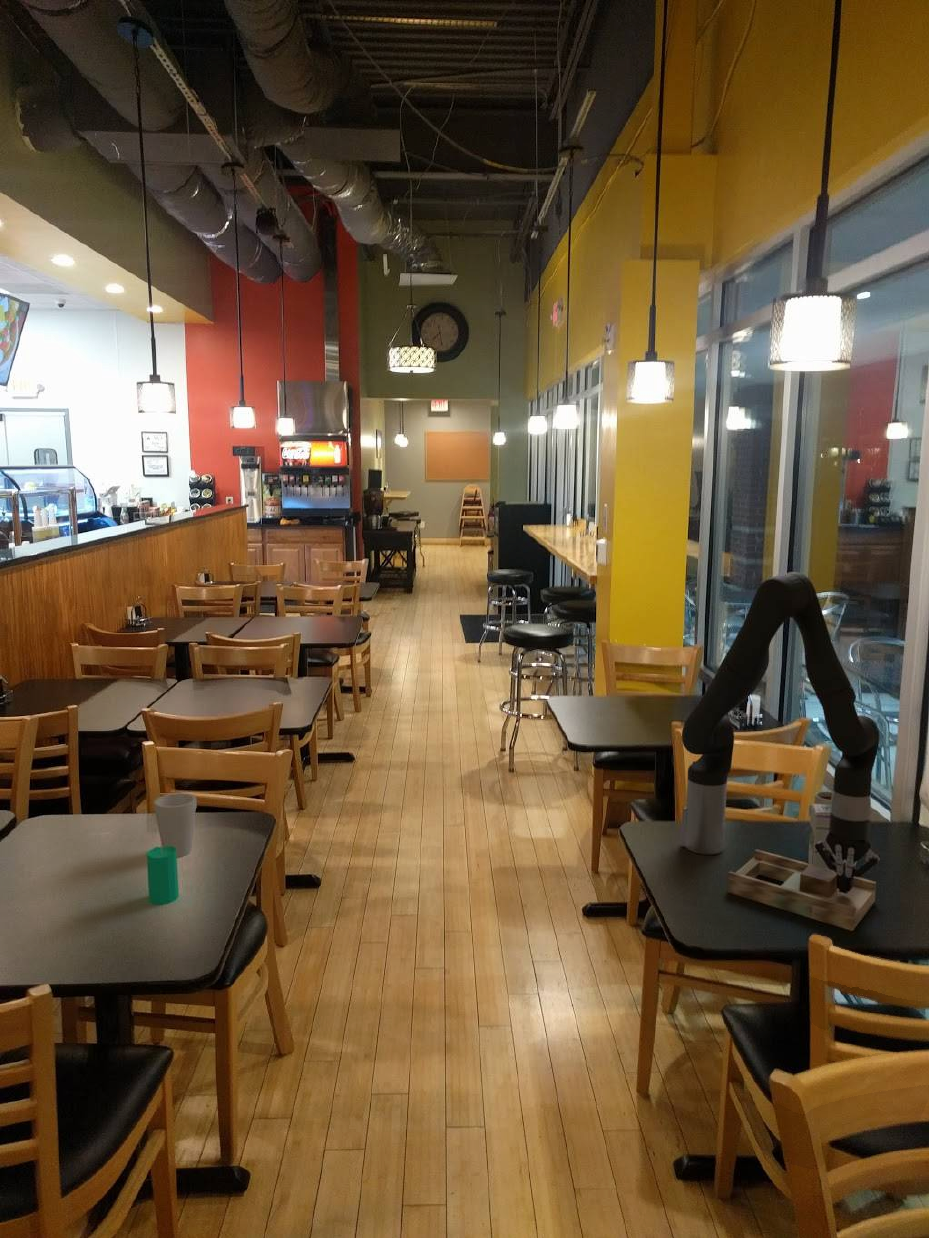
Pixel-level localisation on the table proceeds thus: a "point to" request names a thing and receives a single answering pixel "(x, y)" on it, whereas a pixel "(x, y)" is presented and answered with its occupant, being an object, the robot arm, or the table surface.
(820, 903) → the tray
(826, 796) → the character mug
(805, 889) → the walnut block
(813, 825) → the syrup box
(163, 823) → the foam cup
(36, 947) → the table surface
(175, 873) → the candle
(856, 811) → the robot arm
